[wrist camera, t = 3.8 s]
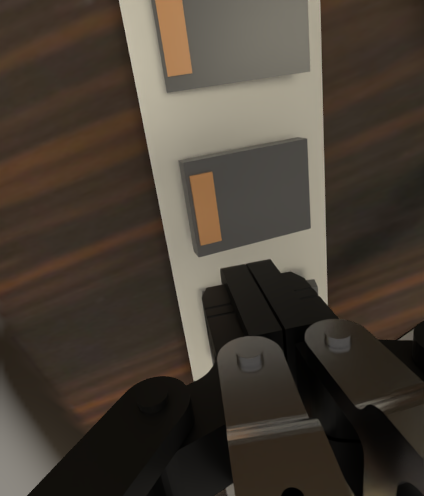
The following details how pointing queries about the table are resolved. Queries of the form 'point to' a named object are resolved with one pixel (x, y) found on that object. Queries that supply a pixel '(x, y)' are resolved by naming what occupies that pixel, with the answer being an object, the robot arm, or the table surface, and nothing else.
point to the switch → (230, 40)
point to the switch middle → (246, 195)
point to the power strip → (219, 140)
